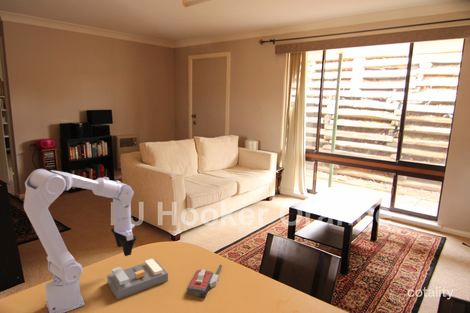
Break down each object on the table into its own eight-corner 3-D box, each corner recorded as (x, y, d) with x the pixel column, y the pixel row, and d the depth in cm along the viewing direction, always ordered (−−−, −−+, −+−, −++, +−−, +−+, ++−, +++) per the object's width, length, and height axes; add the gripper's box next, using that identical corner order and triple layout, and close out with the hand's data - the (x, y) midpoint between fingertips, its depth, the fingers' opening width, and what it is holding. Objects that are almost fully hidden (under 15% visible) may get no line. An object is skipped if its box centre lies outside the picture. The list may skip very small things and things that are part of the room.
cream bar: (154, 275, 109) (154, 272, 108) (145, 263, 116) (144, 260, 115) (162, 272, 110) (162, 269, 110) (152, 261, 117) (152, 258, 117)
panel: (117, 299, 100) (116, 291, 100) (107, 282, 109) (106, 275, 108) (167, 280, 111) (167, 273, 111) (155, 266, 120) (155, 259, 119)
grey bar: (120, 285, 101) (120, 281, 101) (111, 272, 108) (111, 269, 108) (129, 282, 103) (129, 278, 103) (120, 269, 110) (120, 266, 110)
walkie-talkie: (210, 302, 102) (223, 268, 121) (210, 290, 101) (224, 258, 120) (184, 297, 103) (202, 265, 122) (184, 286, 102) (202, 255, 121)
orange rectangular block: (136, 279, 106) (136, 274, 106) (134, 276, 107) (134, 272, 107) (144, 276, 108) (144, 271, 108) (143, 274, 109) (143, 269, 109)
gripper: (141, 220, 107) (142, 255, 109) (126, 207, 118) (128, 239, 121) (120, 225, 102) (122, 262, 105) (107, 211, 113) (109, 244, 116)
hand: (124, 250), depth 113 cm, fingers open, 7 cm apart
